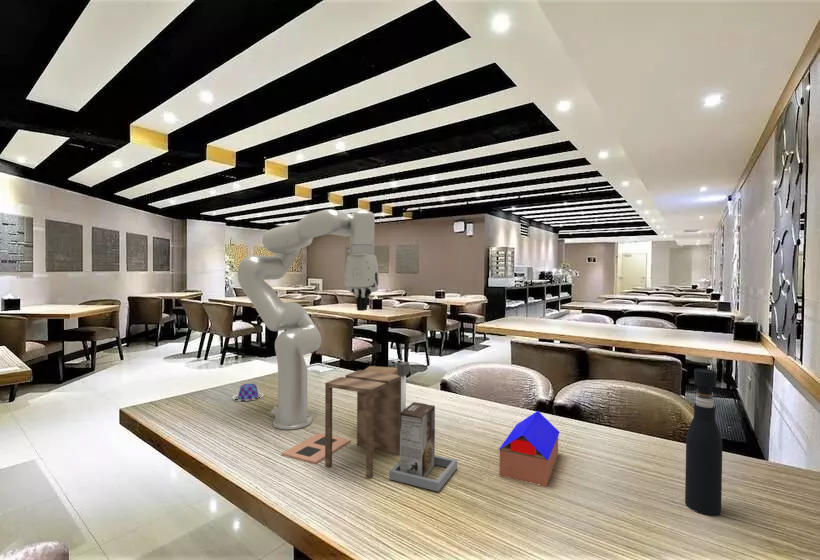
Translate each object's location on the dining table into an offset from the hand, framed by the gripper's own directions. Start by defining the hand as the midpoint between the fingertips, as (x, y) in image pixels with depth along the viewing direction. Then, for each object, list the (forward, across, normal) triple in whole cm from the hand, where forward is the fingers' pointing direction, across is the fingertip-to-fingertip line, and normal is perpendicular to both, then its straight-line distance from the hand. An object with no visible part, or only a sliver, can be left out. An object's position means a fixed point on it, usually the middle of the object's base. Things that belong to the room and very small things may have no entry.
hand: (361, 310), depth 127 cm
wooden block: (+39, +4, +4) cm, 40 cm away
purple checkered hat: (+40, -62, +12) cm, 75 cm away
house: (+40, +51, +4) cm, 65 cm away
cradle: (+39, +28, -14) cm, 50 cm away
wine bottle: (+39, +88, 0) cm, 96 cm away
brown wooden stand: (+39, +10, -14) cm, 43 cm away
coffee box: (+39, +26, -13) cm, 49 cm away
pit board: (+39, -6, -14) cm, 42 cm away
